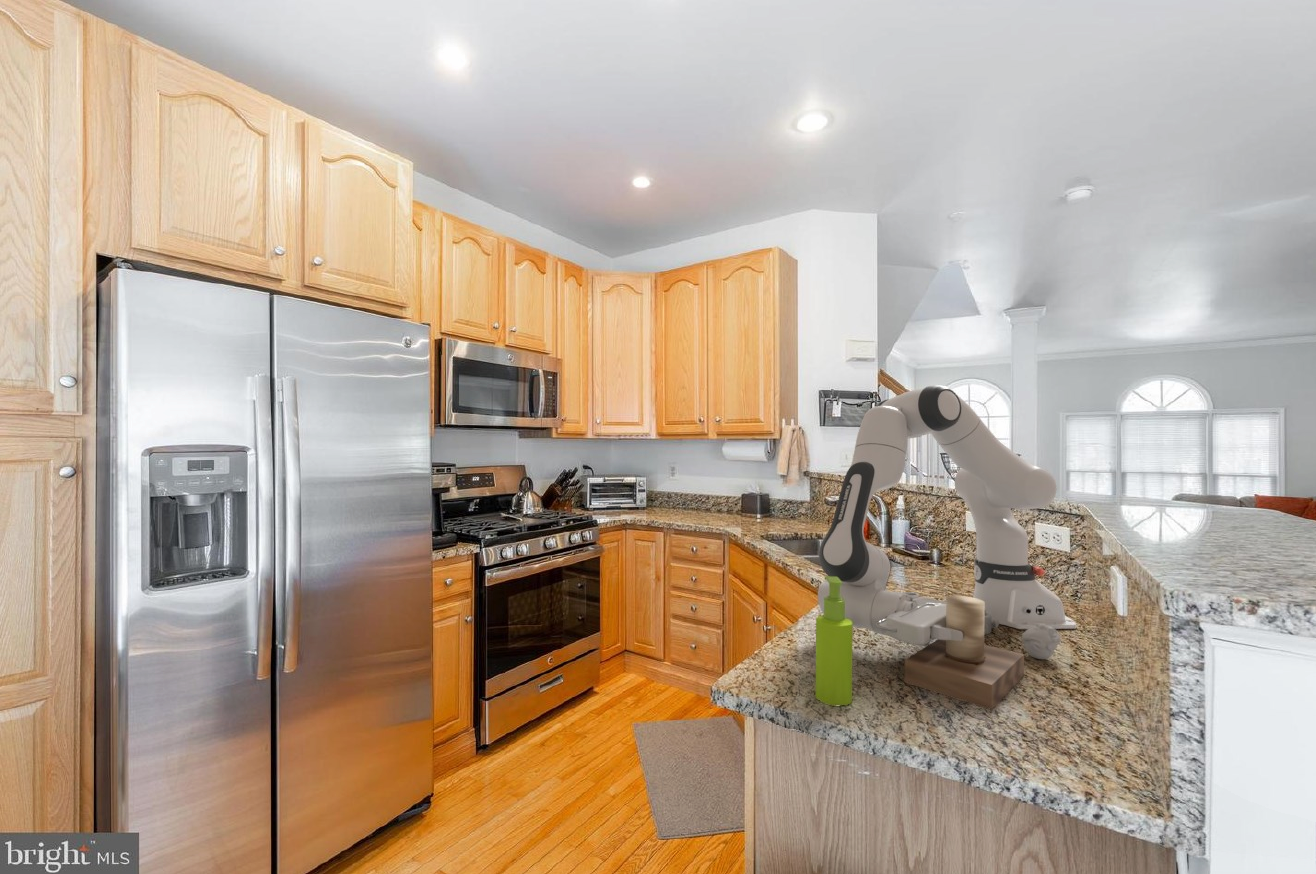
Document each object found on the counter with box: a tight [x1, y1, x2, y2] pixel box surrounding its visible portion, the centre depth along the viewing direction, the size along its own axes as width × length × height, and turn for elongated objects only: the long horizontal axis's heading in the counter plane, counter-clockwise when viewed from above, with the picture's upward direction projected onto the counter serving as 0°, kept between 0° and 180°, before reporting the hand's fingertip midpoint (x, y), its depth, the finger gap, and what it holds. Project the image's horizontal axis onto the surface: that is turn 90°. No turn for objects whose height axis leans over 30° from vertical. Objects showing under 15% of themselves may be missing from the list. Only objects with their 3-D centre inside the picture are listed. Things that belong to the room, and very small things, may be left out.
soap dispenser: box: [814, 575, 854, 706], centre depth 94 cm, size 6×7×20 cm
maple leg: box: [945, 595, 985, 665], centre depth 102 cm, size 6×6×14 cm
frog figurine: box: [1021, 623, 1061, 660], centre depth 112 cm, size 6×7×7 cm
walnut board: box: [904, 639, 1025, 710], centre depth 102 cm, size 20×14×4 cm
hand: (970, 631), depth 101 cm, fingers closed on maple leg, 6 cm apart
